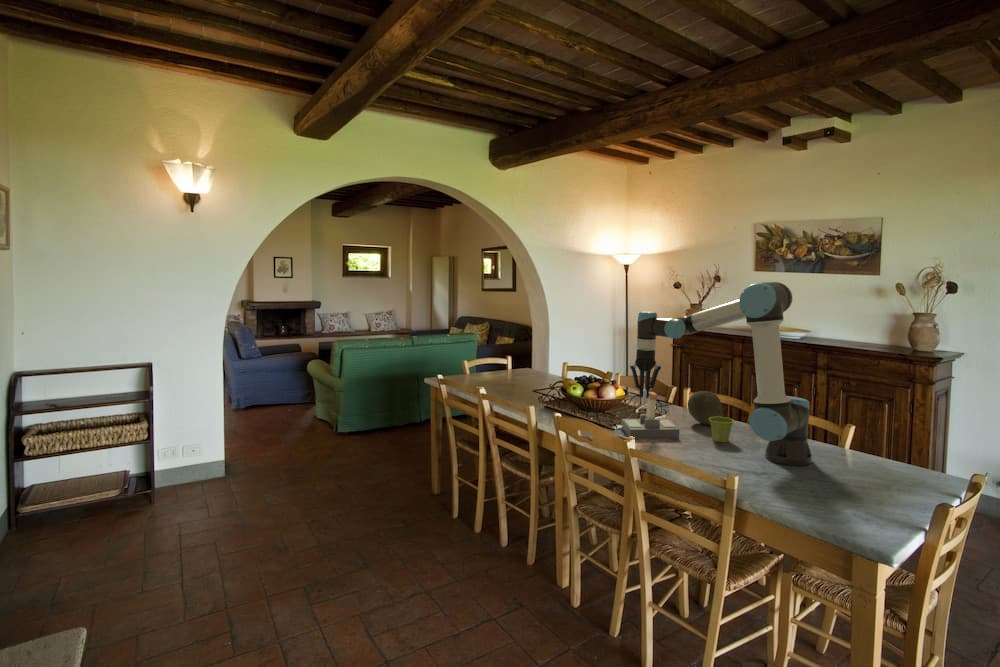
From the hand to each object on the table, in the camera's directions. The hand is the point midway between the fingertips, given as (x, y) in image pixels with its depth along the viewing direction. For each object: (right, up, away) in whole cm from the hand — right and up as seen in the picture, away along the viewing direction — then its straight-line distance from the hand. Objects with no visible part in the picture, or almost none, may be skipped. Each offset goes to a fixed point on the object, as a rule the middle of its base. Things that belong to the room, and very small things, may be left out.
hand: (643, 404), depth 235 cm
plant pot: (+29, -14, -8) cm, 33 cm away
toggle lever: (+3, -8, +1) cm, 8 cm away
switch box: (+3, -12, +2) cm, 13 cm away
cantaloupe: (+31, -11, +15) cm, 36 cm away
